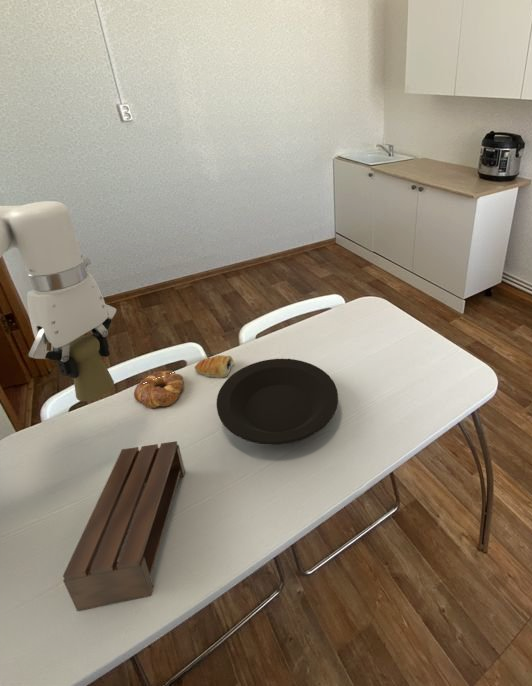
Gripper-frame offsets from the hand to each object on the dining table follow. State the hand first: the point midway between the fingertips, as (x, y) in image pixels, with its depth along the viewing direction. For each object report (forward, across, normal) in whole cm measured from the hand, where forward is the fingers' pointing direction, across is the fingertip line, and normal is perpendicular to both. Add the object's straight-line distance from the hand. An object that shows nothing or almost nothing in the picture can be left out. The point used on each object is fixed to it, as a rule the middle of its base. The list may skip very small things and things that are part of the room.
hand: (87, 363), depth 70 cm
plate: (+24, -20, +26) cm, 41 cm away
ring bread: (+24, -17, -5) cm, 30 cm away
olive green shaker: (+6, 0, 0) cm, 6 cm away
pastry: (+24, -28, +2) cm, 37 cm away
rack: (+23, +9, +16) cm, 30 cm away
